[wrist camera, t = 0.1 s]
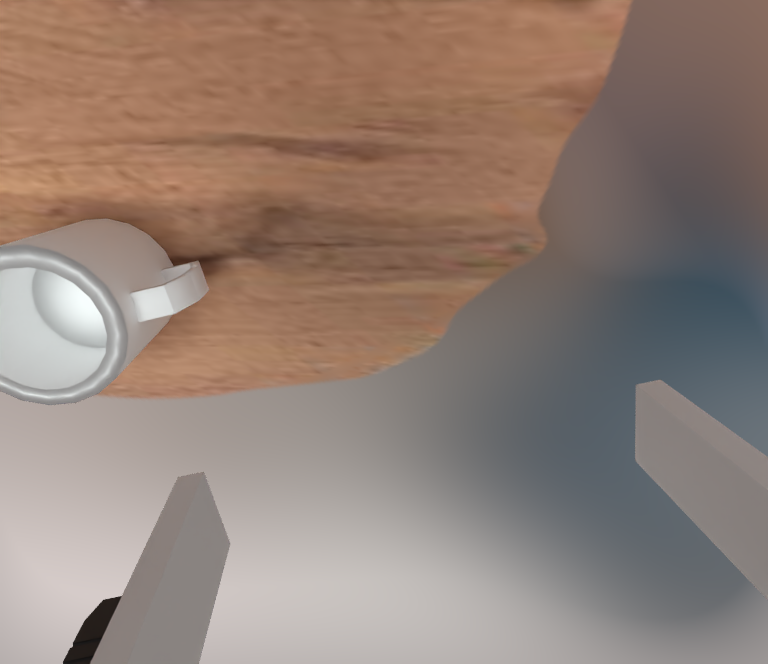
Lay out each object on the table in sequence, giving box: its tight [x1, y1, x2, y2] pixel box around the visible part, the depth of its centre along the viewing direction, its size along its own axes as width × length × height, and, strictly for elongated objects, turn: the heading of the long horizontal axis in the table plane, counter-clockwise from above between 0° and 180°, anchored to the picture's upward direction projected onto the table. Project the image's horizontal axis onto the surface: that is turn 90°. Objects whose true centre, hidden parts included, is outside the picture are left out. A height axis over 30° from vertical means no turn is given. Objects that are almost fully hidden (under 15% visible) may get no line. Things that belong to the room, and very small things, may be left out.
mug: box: [0, 218, 209, 405], centre depth 35 cm, size 14×10×11 cm
